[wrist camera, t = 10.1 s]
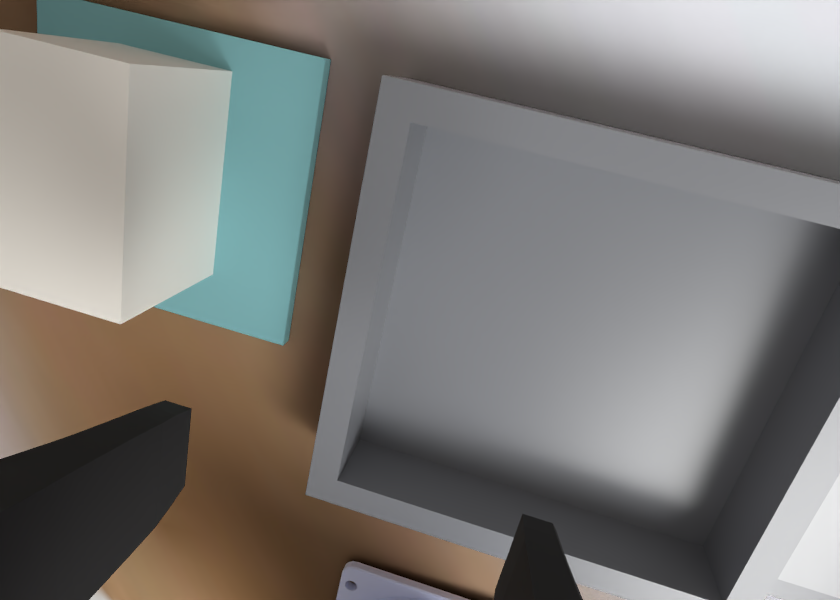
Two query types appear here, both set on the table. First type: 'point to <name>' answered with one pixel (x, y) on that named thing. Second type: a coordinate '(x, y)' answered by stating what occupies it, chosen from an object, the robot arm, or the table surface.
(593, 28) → the table surface
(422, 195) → the case
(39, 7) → the teal pad
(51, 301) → the block
